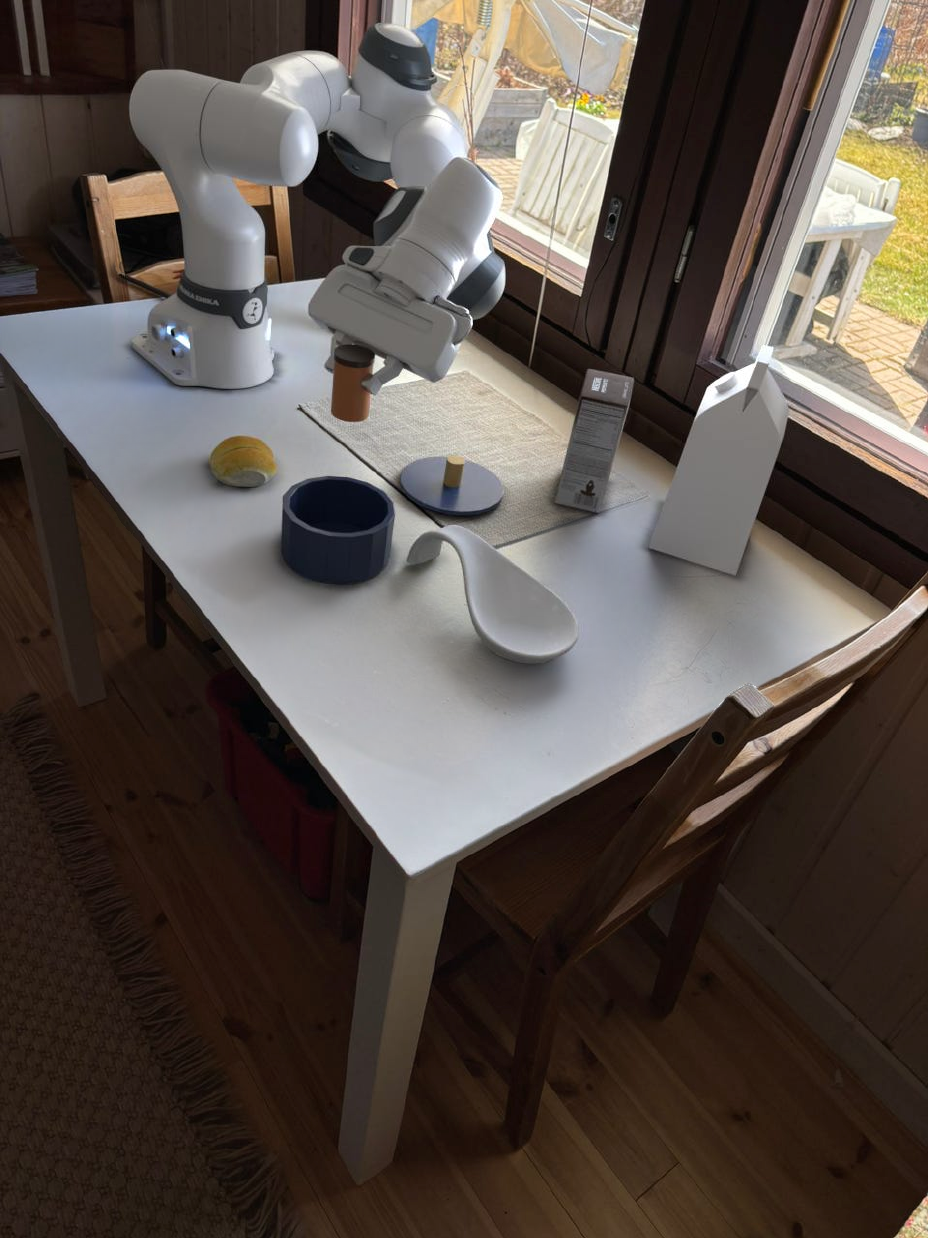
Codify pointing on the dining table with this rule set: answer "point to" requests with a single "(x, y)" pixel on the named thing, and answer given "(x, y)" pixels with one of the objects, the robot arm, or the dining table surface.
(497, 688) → the dining table surface
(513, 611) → the spoon rest
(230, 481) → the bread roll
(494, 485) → the tin lid
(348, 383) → the cylinder
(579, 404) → the coffee box
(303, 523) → the tin
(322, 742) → the dining table surface
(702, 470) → the milk
